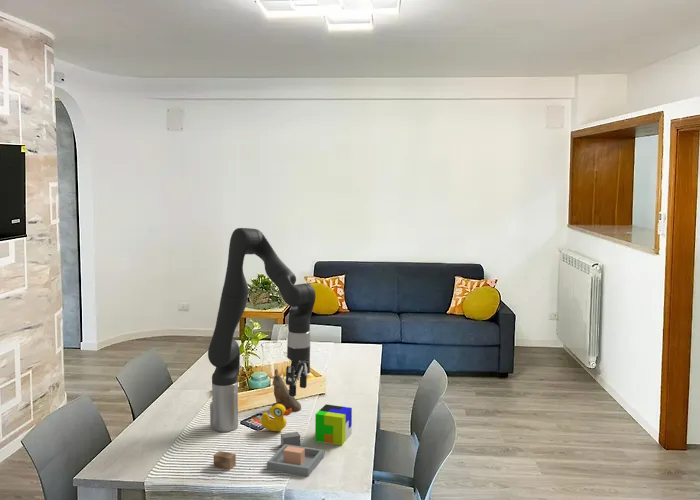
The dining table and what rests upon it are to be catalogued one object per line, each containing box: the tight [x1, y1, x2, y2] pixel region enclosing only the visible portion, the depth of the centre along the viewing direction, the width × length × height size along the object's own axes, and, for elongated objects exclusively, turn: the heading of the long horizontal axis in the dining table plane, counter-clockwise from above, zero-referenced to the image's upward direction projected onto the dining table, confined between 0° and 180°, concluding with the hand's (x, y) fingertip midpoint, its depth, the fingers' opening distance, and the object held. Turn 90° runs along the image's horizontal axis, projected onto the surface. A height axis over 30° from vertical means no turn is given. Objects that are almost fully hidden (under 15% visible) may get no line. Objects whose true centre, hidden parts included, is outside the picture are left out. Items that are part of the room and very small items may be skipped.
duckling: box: [260, 404, 292, 432], centre depth 230 cm, size 11×5×10 cm, turn 82°
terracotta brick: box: [283, 446, 305, 465], centre depth 204 cm, size 6×4×4 cm, turn 72°
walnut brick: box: [212, 450, 237, 471], centre depth 202 cm, size 6×4×4 cm, turn 70°
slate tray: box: [266, 444, 325, 477], centre depth 204 cm, size 14×14×3 cm
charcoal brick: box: [280, 431, 301, 447], centre depth 218 cm, size 6×4×4 cm, turn 110°
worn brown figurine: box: [270, 368, 302, 413], centre depth 251 cm, size 12×6×18 cm, turn 81°
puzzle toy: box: [314, 404, 353, 446], centre depth 224 cm, size 10×10×10 cm
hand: (297, 391), depth 209 cm, fingers open, 8 cm apart
